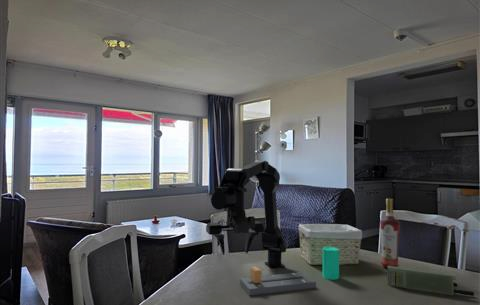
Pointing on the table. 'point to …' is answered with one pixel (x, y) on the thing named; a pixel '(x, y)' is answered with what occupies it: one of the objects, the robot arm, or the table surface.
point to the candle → (330, 263)
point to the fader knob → (255, 274)
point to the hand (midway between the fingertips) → (235, 253)
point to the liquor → (389, 237)
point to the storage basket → (329, 242)
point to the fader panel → (278, 283)
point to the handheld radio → (424, 280)
